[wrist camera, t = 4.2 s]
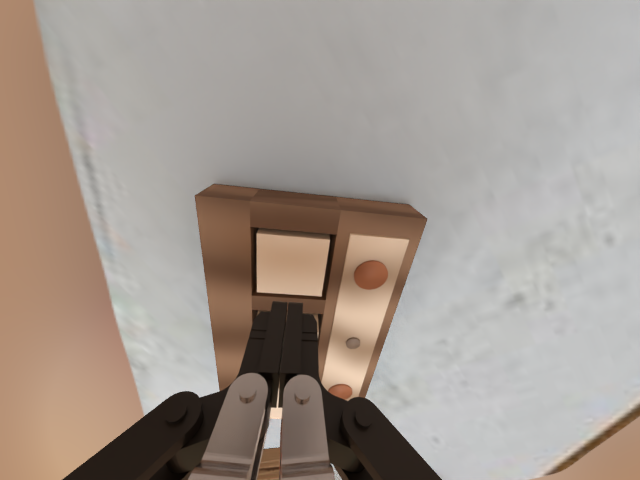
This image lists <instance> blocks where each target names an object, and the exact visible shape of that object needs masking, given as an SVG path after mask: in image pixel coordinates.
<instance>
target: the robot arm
mask: <svg viewBox="0 0 640 480" xmlns="http://www.w3.org/2000/svg"><path fill="white" fill-rule="evenodd" d="M286 318H287V320H286ZM279 382H280V384H279ZM278 390H279V401H278V408H282V419H281V433H280V463H279V480H335V476H334V471H333V468H332V465H331V464H333V465H334V467H335V469H336V470H337V472H338V473H339V475H340V476H341V478H342V480H442V479H441V478H440V477H439V476H438V475H437V474H436V473H435V471H434V470H433V469H432V468H431V467H430V466H429V465H428V464H427V463H426V461H425V460H424V459H423V458H422V457H421V456H420V455H419V454H418V453H417V451H416V450H415V449H414V448H413V447H412V446H411V445H410V444H409V442H408V441H407V440H406V439H405V438H404V437H403V436H402V435H401V434H400V432H399V431H398V430H397V429H396V428H395V427H394V426H393V425H392V424H391V422H390V421H389V420H388V419H387V418H386V417H385V416H384V415H383V413H382V412H381V411H380V410H379V409H378V408H377V407H376V406H375V405H374V404H373V403H372V402H371V401H370V400H368V399H366V398H363V397H354V398H352V399H350V400H349V401H347V400H344V399H342V398H339V397H337V396H335V395H333V394H331V393H330V392H328V391H327V390H326V389H325V388H324V386H323V385H322V383H321V381H320V377H319V361H318V330H317V321H316V319H315V318H314V316H313V314H303V303H300V302H289V303H288V311H287V302H282V301H273V302H272V307H271V311H270V312H264V311H260V313H259V314H258V315H257V316H256V317H255V319H254V321H253V324H252V328H251V331H250V335H249V339H248V342H247V345H246V349H245V353H244V356H243V360H242V363H241V367H240V370H239V373H238V375H237V377H236V379H235V380H234V381H233V382H232V383H231V384H230V385H229V386H228V387H227V388H225V389H223V390H222V391H219V392H217V393H214V394H210V395H207V396H204V397H200V398H199V396H198V395H197V394H195V393H193V392H189V391H184V392H179V393H177V394H174V395H172V396H170V397H169V398H168V399H166V400H165V401H164V402H162V403H161V404H160V405H158V406H157V407H156V408H155V409H153V410H152V411H151V412H149V413H148V414H147V415H145V416H144V417H143V418H142V419H140V420H139V421H138V422H136V423H135V424H134V425H133V426H131V427H130V428H129V429H127V430H126V431H125V432H123V433H122V434H121V435H120V436H118V437H117V438H116V439H114V440H113V441H112V442H110V443H109V444H108V445H107V446H105V447H104V448H103V449H102V450H100V451H99V452H98V453H96V454H95V455H94V456H92V457H91V458H90V459H89V460H87V461H86V462H85V463H83V464H82V465H81V466H79V467H78V468H77V469H76V470H74V471H73V472H72V473H70V474H69V475H68V476H66V477H65V478H64V479H63V480H257V478H258V473H259V468H260V463H261V458H262V453H263V448H264V443H265V439H266V434H267V429H268V426H269V419H270V412H271V408H276V407H277V399H278ZM330 463H331V464H330Z"/></svg>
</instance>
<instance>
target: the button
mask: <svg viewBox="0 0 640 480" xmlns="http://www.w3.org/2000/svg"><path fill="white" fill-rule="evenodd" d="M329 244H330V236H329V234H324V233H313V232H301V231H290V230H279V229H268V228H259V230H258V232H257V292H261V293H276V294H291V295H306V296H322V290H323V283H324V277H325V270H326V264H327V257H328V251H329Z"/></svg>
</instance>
